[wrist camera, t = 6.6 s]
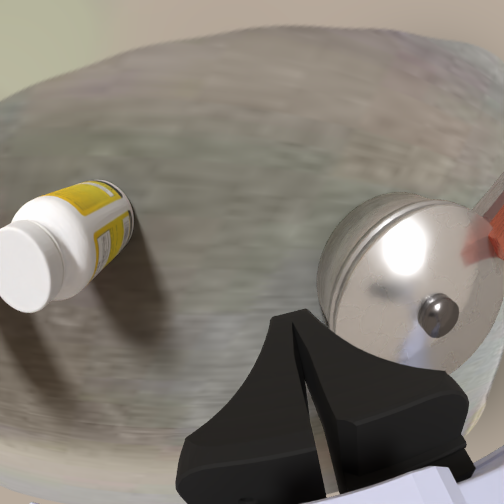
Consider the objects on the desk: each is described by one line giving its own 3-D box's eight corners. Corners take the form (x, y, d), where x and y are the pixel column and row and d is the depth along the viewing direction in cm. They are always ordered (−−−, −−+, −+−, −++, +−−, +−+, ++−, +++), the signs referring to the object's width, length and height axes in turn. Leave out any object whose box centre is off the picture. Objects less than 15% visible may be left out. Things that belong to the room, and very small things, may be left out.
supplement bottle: (56, 199, 20) (-38, 238, 10) (116, 165, 19) (29, 185, 10) (87, 266, 21) (12, 338, 12) (148, 239, 21) (88, 309, 12)
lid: (398, 409, 20) (406, 425, 18) (286, 317, 17) (291, 335, 15) (555, 238, 16) (570, 245, 15) (495, 98, 13) (514, 97, 12)
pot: (353, 385, 26) (370, 426, 21) (251, 296, 22) (254, 335, 18) (510, 234, 22) (547, 252, 17) (446, 112, 19) (490, 109, 14)
